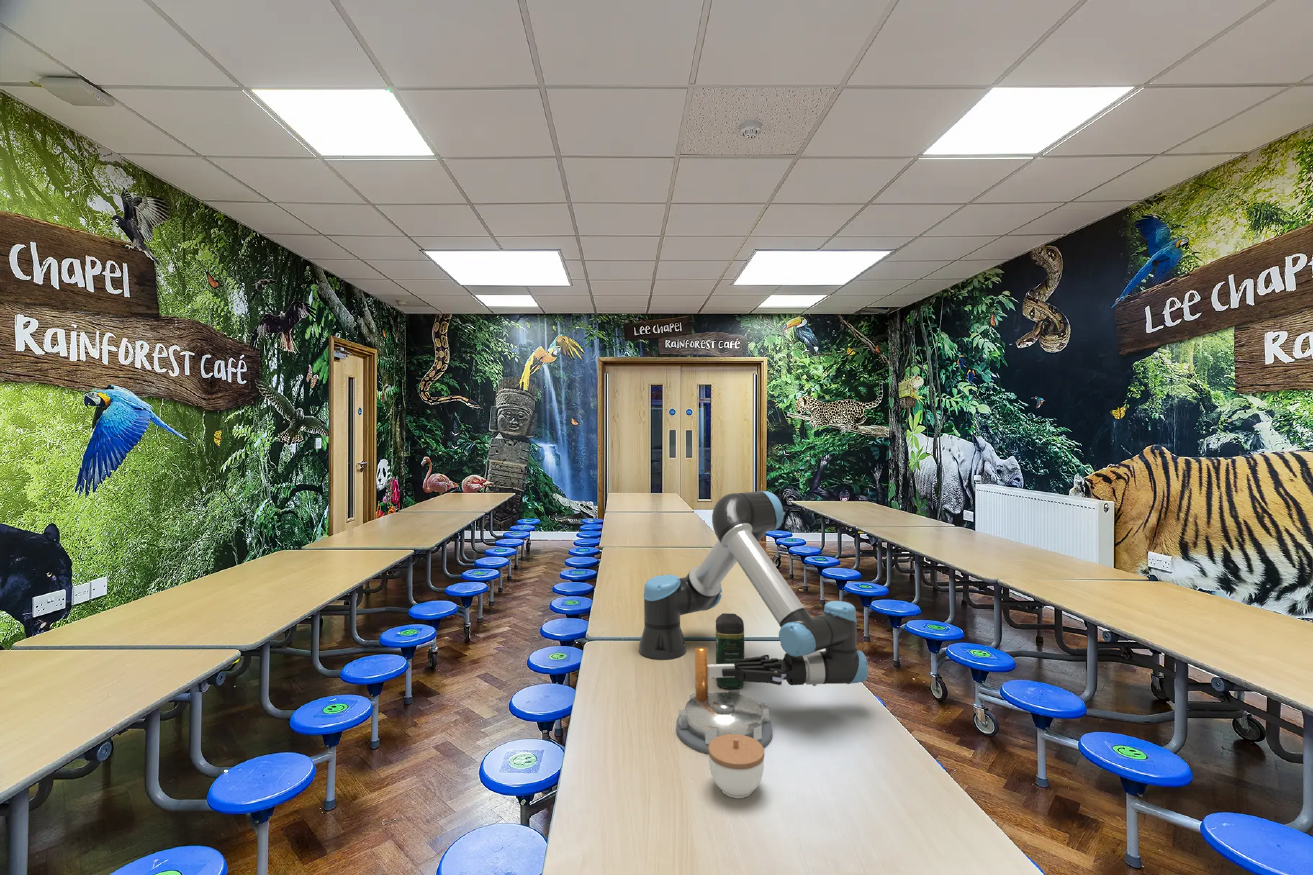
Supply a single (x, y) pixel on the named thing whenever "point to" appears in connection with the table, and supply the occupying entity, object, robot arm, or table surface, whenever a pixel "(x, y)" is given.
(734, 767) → the lidded jar
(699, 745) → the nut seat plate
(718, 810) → the table surface
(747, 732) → the lugged metal dome
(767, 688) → the table surface
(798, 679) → the robot arm
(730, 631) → the coffee jar
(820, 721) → the table surface
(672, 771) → the table surface
